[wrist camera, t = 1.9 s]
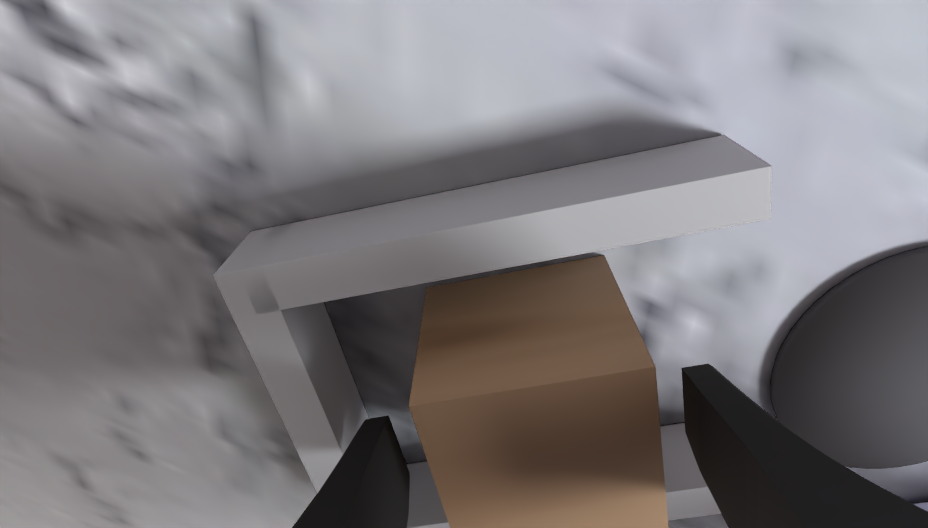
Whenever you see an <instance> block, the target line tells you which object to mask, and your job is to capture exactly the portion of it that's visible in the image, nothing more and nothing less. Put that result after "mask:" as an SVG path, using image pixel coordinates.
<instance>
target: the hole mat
mask: <svg viewBox="0 0 928 528" xmlns="http://www.w3.org/2000/svg"><path fill="white" fill-rule="evenodd" d="M771 399H772V404H773V408H774V411H775V413H776V415H777V418H778V420H779V422H780V423H782V424H783V425H784V426H786V427H787V428H788V429H790V430H791V431H792V432H794V433H795V434H797V435H798V436H799V437H801V438H802V439H804V440H805V441H807V442H808V443H809V444H811V445H812V446H814V447H815V448H817V449H818V450H820V451H821V452H823V453H824V454H826V455H827V456H829V457H830V458H832V459H833V460H835V461H836V462H838V463H840V464H841V465H843V466H848V467H855V468H866V469H882V468H893V467H902V466H907V465H913V464H918V463H922V462H926V461H928V246H927V247H922V248H918V249H914V250H909V251H906V252H903V253H900V254H897V255H894V256H891V257H888V258H886V259H883V260H881V261H879V262H877V263H874V264H872V265H870V266H868V267H866V268H864V269H862V270H860V271H859V272H857V273H855V274H853V275H851V276H850V277H848V278H847V279H845V280H844V281H842V282H841V283H839V284H838V285H836V286H835V287H833V288H832V289H831V290H829V291H828V292H827V293H826V294H825V295H823V296H822V297H821V298H820V299H819V300H817V301H816V302H815V303H814V304H813V305H812V306H811V307H810V308H809V309H808V310H807V311H806V312H805V313H804V314H803V315H802V317H801V318H800V319H799V320H798V322H797V323H796V324H795V326H794V327H793V328H792V329H791V331H790V333H789V334H788V336H787V337H786V339H785V341H784V342H783V344H782V346H781V348H780V351H779V353H778V355H777V357H776V360H775V364H774V367H773V371H772V378H771Z"/></svg>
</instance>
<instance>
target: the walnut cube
mask: <svg viewBox="0 0 928 528" xmlns="http://www.w3.org/2000/svg"><path fill="white" fill-rule="evenodd" d="M409 409H410V412H411V415H412V418H413V421H414V424H415V427H416V430H417V432H418V435H419V438H420V441H421V444H422V447H423V450H424V453H425V456H426V459H427V462H428V465H429V468H430V470H431V473H432V476H433V479H434V482H435V485H436V488H437V491H438V494H439V497H440V500H441V503H442V506H443V508H444V511H445V514H446V517H447V520H448V523H449V526H450V528H669V527H668V515H667V503H666V491H665V478H664V466H663V454H662V442H661V430H660V418H659V406H658V393H657V381H656V369H655V365H654V363H653V361H652V358H651V356H650V354H649V352H648V350H647V348H646V345H645V343H644V341H643V339H642V337H641V334H640V332H639V330H638V328H637V326H636V324H635V321H634V319H633V317H632V315H631V313H630V311H629V308H628V306H627V304H626V302H625V300H624V297H623V295H622V293H621V291H620V289H619V287H618V284H617V282H616V280H615V278H614V276H613V274H612V271H611V269H610V267H609V265H608V263H607V261H606V258H605V256H604V255H601V256H595V257H590V258H585V259H579V260H574V261H569V262H563V263H558V264H552V265H547V266H542V267H536V268H531V269H525V270H520V271H515V272H509V273H504V274H498V275H493V276H488V277H482V278H477V279H471V280H466V281H461V282H455V283H450V284H444V285H439V286H434V287H428V288H426V294H425V301H424V308H423V314H422V321H421V328H420V334H419V341H418V348H417V354H416V361H415V368H414V374H413V381H412V388H411V394H410V401H409Z"/></svg>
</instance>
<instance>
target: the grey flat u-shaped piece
mask: <svg viewBox="0 0 928 528" xmlns="http://www.w3.org/2000/svg"><path fill="white" fill-rule="evenodd" d="M771 185H772V166H771V165H770V164H768V163H767V162H765V161H764V160H762V159H761V158H759V157H757V156H756V155H754V154H753V153H751V152H750V151H748V150H747V149H745V148H744V147H742V146H741V145H739V144H738V143H736V142H734V141H733V140H731V139H730V138H728V137H727V136H725V135H721V136H716V137H711V138H706V139H701V140H696V141H691V142H686V143H682V144H677V145H672V146H667V147H662V148H657V149H652V150H647V151H642V152H637V153H633V154H628V155H623V156H618V157H613V158H608V159H603V160H598V161H593V162H588V163H584V164H579V165H574V166H569V167H564V168H559V169H554V170H549V171H544V172H539V173H535V174H530V175H525V176H520V177H515V178H510V179H505V180H500V181H495V182H490V183H486V184H481V185H476V186H471V187H466V188H461V189H456V190H451V191H446V192H441V193H437V194H432V195H427V196H422V197H417V198H412V199H407V200H402V201H397V202H392V203H388V204H383V205H378V206H373V207H368V208H363V209H358V210H353V211H348V212H344V213H339V214H334V215H329V216H324V217H319V218H314V219H309V220H304V221H299V222H295V223H290V224H285V225H280V226H275V227H270V228H265V229H260V230H255V231H251V232H250V233H249V234H248V235H247V236H246V237H245V239H244V240H243V241H242V242H241V243H240V244H239V246H238V247H237V248H236V249H235V250H234V251H233V253H232V254H231V255H230V256H229V257H228V258H227V260H226V261H225V262H224V263H223V264H222V265H221V266H220V268H219V269H218V270H217V271H216V272H215V273H214V275H213V278H214V280H215V282H216V284H217V286H218V288H219V290H220V293H221V295H222V297H223V299H224V301H225V303H226V305H227V307H228V309H229V311H230V313H231V315H232V317H233V320H234V322H235V324H236V326H237V328H238V330H239V332H240V334H241V336H242V338H243V340H244V342H245V344H246V347H247V349H248V351H249V353H250V355H251V357H252V359H253V361H254V363H255V365H256V367H257V369H258V372H259V374H260V376H261V378H262V380H263V382H264V384H265V386H266V388H267V390H268V392H269V394H270V396H271V399H272V401H273V403H274V405H275V407H276V409H277V411H278V413H279V415H280V417H281V419H282V421H283V423H284V426H285V428H286V430H287V432H288V434H289V436H290V438H291V440H292V442H293V444H294V446H295V448H296V451H297V453H298V455H299V457H300V459H301V461H302V463H303V465H304V467H305V469H306V471H307V473H308V475H309V478H310V480H311V482H312V484H313V486H314V488H315V490H316V492H317V493H318V492H319V490H320V489H321V487H322V486H323V484H324V483H325V481H326V480H327V478H328V477H329V475H330V474H331V472H332V471H333V469H334V468H335V466H336V465H337V463H338V462H339V460H340V458H341V457H342V455H343V454H344V452H345V451H346V449H347V447H348V446H349V444H350V443H351V441H352V439H353V438H354V436H355V434H356V433H357V431H358V430H359V428H360V427H361V425H362V423H363V422H364V421H365V419H369V418H368V416H367V413H366V410H365V408H364V405H363V403H362V400H361V398H360V395H359V392H358V390H357V387H356V385H355V382H354V379H353V377H352V374H351V372H350V369H349V367H348V364H347V361H346V359H345V356H344V354H343V351H342V349H341V346H340V343H339V341H338V338H337V336H336V333H335V331H334V328H333V325H332V323H331V320H330V318H329V315H328V313H327V310H326V307H325V305H324V302H327V301H332V300H338V299H343V298H348V297H354V296H359V295H364V294H370V293H375V292H381V291H386V290H391V289H397V288H402V287H407V286H413V285H418V284H423V283H429V282H434V281H440V280H445V279H450V278H456V277H461V276H466V275H472V274H477V273H483V272H488V271H493V270H499V269H504V268H509V267H515V266H520V265H526V264H531V263H536V262H542V261H547V260H552V259H558V258H563V257H569V256H574V255H579V254H585V253H590V252H595V251H601V250H606V249H612V248H617V247H622V246H628V245H633V244H638V243H644V242H649V241H654V240H660V239H665V238H671V237H676V236H681V235H687V234H692V233H697V232H703V231H708V230H714V229H719V228H724V227H730V226H735V225H740V224H746V223H751V222H757V221H762V220H767V219H771ZM660 430H661V442H662V454H663V466H664V478H665V491H666V503H667V515H668V521H671V520H679V519H687V518H694V517H702V516H709V515H717V514H721V512H720V510H719V508H718V506H717V504H716V502H715V500H714V498H713V496H712V494H711V492H710V490H709V488H708V486H707V484H706V482H705V480H704V478H703V476H702V474H701V472H700V470H699V467H698V465H697V462H696V460H695V457H694V454H693V452H692V449H691V446H690V444H689V441H688V438H687V435H686V433H685V423H680V424H674V425H667V426H660ZM406 465H407V467H408V470H409V473H410V489H409V515H408V522H407V528H450V526H449V523H448V520H447V517H446V514H445V511H444V508H443V506H442V503H441V500H440V497H439V494H438V491H437V488H436V485H435V482H434V479H433V476H432V473H431V470H430V468H429V465H428V462H427V461H426V462H419V463H413V464H406Z"/></svg>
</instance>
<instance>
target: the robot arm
mask: <svg viewBox="0 0 928 528" xmlns="http://www.w3.org/2000/svg"><path fill="white" fill-rule="evenodd" d="M682 381H683V399H684V418H685V433H686V435H687V438H688V441H689V444H690V446H691V449H692V452H693V454H694V457H695V460H696V462H697V465H698V467H699V470H700V472H701V474H702V476H703V478H704V480H705V482H706V484H707V486H708V488H709V490H710V492H711V494H712V496H713V498H714V500H715V502H716V504H717V506H718V508H719V510H720V512H721V514H722V515H723V517H724V519H725V521H726V523H727V525H728V527H729V528H928V502H925V503H917V504H912V503H910V502H908V501H906V500H904V499H902V498H900V497H898V496H896V495H894V494H892V493H891V492H889V491H887V490H885V489H883V488H881V487H879V486H877V485H876V484H874V483H872V482H870V481H868V480H866V479H865V478H863V477H861V476H860V475H858V474H856V473H855V472H853V471H851V470H850V469H848V468H846V467H845V466H843V465H841V464H840V463H838V462H836V461H835V460H833V459H832V458H830V457H829V456H827V455H826V454H824V453H823V452H821V451H820V450H818V449H817V448H815V447H814V446H812V445H811V444H809V443H808V442H807V441H805V440H804V439H802V438H801V437H799V436H798V435H797V434H795V433H794V432H792V431H791V430H790V429H788V428H787V427H786V426H784V425H783V424H782V423H780V422H779V421H778V420H776V419H775V418H774V417H773V416H771V415H770V414H769V413H767V412H766V411H765V410H763V409H762V408H761V407H760V406H758V405H757V404H756V403H755V402H753V401H752V400H751V399H750V398H749V397H747V396H746V395H745V394H744V393H743V392H741V391H740V390H739V389H738V388H737V387H736V386H734V385H733V384H732V383H731V382H730V381H729V380H727V379H726V378H725V377H724V376H723V375H722V374H721V373H719V372H718V371H717V370H716V369H715V368H714V367H712V366H711V365H709V364H703V365H697V366H691V367H685V368H682ZM409 489H410V473H409V470H408V467H407V465H406V462H405V459H404V456H403V454H402V451H401V448H400V446H399V443H398V440H397V437H396V435H395V432H394V429H393V427H392V424H391V421H390V418H389V416H384V417H378V418H372V419H365V421H364V422H363V423H362V425H361V427H360V428H359V430H358V431H357V433H356V434H355V436H354V438H353V439H352V441H351V443H350V444H349V446H348V447H347V449H346V451H345V452H344V454H343V455H342V457H341V458H340V460H339V462H338V463H337V465H336V466H335V468H334V469H333V471H332V472H331V474H330V475H329V477H328V478H327V480H326V481H325V483H324V484H323V486H322V487H321V489H320V490H319V492H318V493H317V495H316V496H315V497H314V499H313V500H312V502H311V503H310V504H309V506H308V507H307V508H306V510H305V511H304V512H303V514H302V515H301V517H300V518H299V519H298V521H297V522H296V523H295V525H294V526H293V527H292V528H407V522H408V515H409Z"/></svg>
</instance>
